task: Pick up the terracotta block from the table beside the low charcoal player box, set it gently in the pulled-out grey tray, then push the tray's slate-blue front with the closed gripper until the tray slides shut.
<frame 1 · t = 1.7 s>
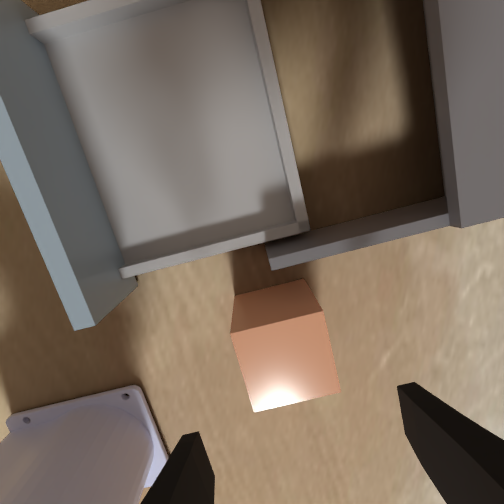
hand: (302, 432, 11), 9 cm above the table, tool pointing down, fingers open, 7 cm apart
block: (277, 318, 19), on the table
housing: (332, 97, 16), on the table
tray: (163, 132, 14), point 3 cm above the table, slide at 8.0 cm
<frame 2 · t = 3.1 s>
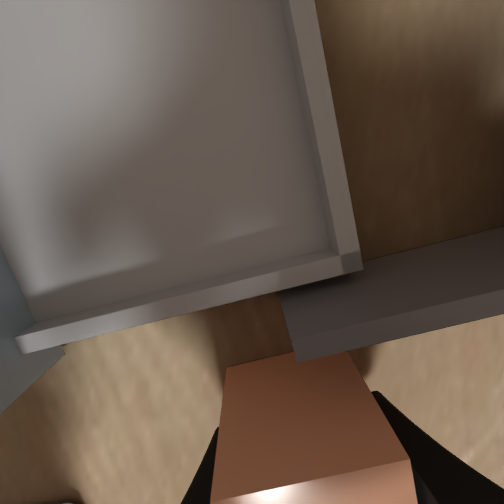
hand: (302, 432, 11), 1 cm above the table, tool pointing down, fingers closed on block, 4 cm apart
block: (295, 403, 12), on the table, touching gripper
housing: (402, 27, 9), on the table
tray: (69, 75, 7), point 3 cm above the table, slide at 8.0 cm
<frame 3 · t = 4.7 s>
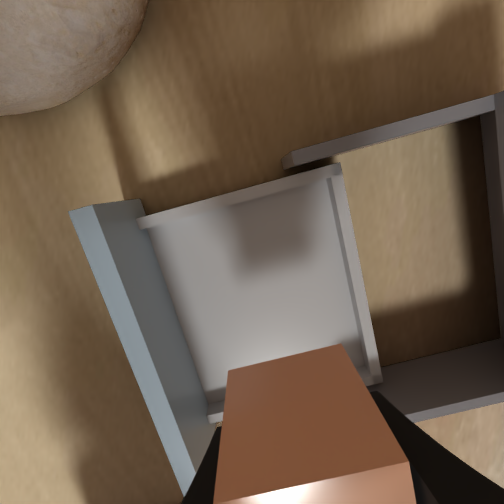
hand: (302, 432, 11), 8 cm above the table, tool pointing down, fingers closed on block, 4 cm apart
block: (297, 405, 12), point 7 cm above the table, touching gripper
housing: (401, 259, 18), on the table
tray: (260, 316, 16), point 3 cm above the table, slide at 8.0 cm
stone: (37, 2, 15), on the table
when the fingers open (3 cm above the table, at t = 6.3 s): block stays where it is, resting on tray.
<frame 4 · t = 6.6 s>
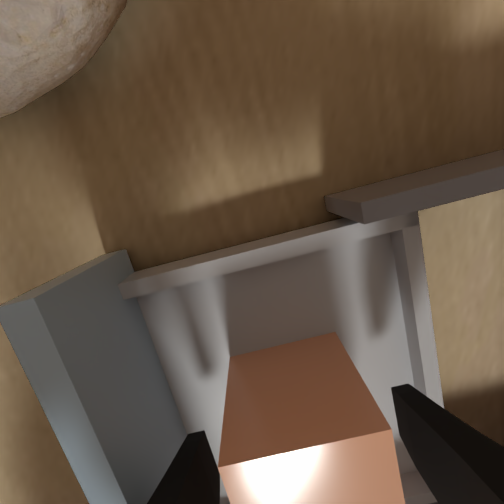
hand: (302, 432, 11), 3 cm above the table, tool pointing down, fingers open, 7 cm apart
block: (293, 390, 13), point 1 cm above the table, touching tray
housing: (481, 330, 13), on the table
tray: (295, 425, 11), point 3 cm above the table, slide at 8.0 cm, touching block
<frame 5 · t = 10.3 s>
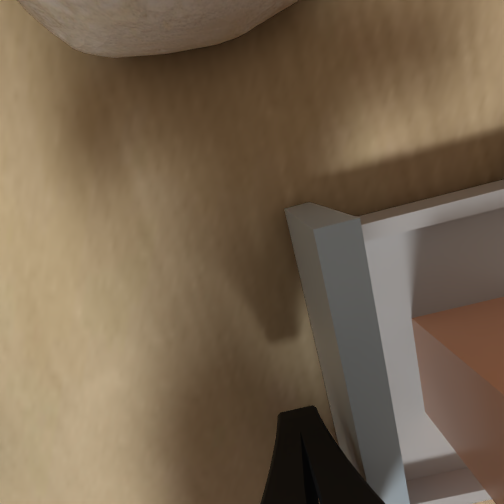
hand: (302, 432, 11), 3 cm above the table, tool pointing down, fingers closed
block: (472, 354, 12), point 1 cm above the table, touching tray
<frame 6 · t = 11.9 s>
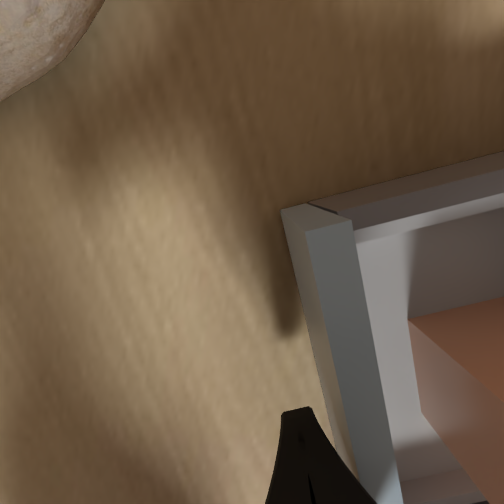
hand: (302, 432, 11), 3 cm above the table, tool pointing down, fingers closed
block: (469, 355, 12), point 1 cm above the table, touching tray
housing: (469, 338, 13), on the table
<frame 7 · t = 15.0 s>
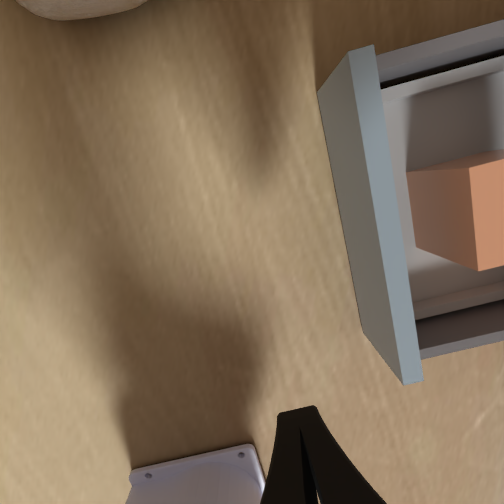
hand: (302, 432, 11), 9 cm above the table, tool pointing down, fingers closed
block: (449, 201, 17), point 1 cm above the table, touching tray
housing: (451, 194, 18), on the table
tray: (471, 201, 15), point 3 cm above the table, slide at 0.0 cm, touching block
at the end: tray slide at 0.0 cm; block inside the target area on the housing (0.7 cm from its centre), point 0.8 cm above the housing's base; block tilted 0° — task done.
